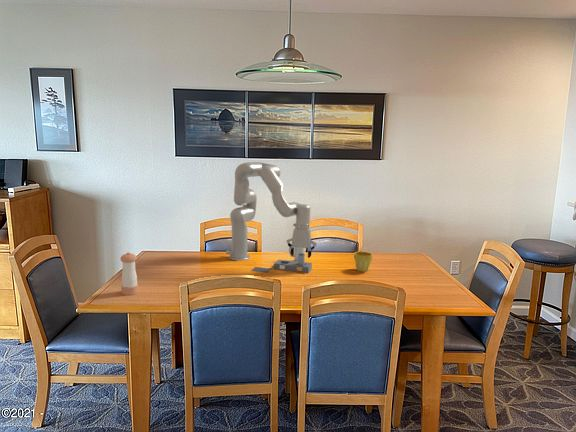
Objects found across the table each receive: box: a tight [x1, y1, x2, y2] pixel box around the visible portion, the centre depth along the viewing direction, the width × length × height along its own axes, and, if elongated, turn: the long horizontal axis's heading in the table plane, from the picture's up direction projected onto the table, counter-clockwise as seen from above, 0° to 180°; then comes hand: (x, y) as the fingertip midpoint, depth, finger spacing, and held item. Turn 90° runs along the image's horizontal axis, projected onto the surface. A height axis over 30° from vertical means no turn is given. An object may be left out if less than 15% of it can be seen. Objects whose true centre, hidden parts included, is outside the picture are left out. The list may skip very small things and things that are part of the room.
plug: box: [298, 253, 306, 266], centre depth 236 cm, size 3×3×10 cm
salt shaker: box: [120, 252, 139, 296], centre depth 193 cm, size 7×7×19 cm
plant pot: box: [353, 250, 373, 273], centre depth 239 cm, size 10×10×10 cm
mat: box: [250, 266, 272, 273], centre depth 234 cm, size 10×8×1 cm
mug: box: [288, 243, 306, 261], centre depth 253 cm, size 10×7×12 cm, turn 89°
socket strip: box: [273, 259, 313, 274], centre depth 237 cm, size 20×9×4 cm, turn 74°
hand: (300, 256), depth 236 cm, fingers open, 9 cm apart
